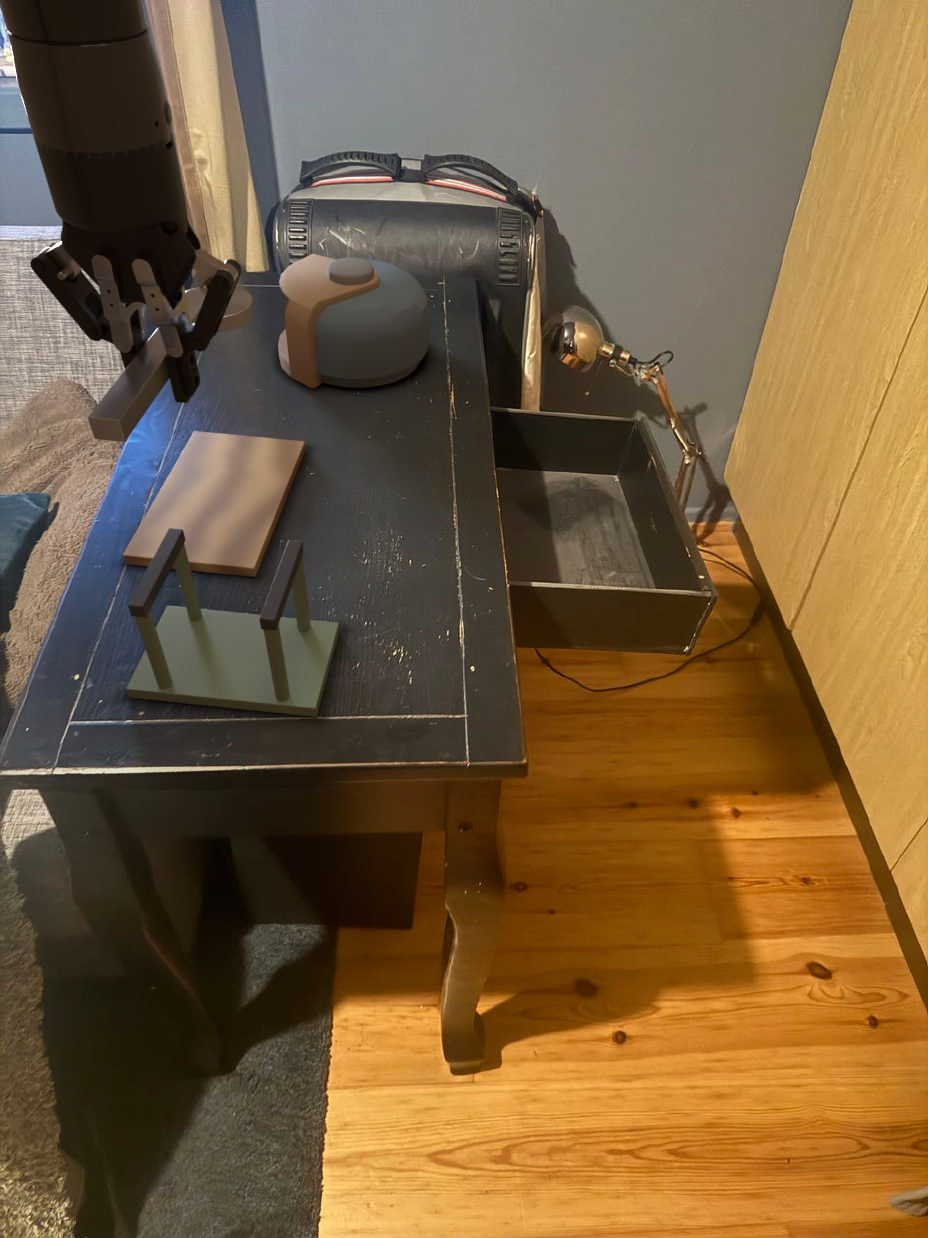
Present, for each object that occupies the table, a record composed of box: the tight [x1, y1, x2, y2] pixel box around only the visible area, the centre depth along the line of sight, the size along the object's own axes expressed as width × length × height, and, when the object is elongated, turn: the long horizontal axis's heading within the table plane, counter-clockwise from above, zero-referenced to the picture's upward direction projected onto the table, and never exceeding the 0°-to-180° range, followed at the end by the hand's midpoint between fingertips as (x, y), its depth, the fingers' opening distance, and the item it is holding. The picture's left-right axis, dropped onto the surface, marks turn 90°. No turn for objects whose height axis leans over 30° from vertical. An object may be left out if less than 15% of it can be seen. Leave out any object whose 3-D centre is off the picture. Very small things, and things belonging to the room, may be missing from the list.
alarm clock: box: [277, 253, 430, 389], centre depth 107 cm, size 19×20×12 cm
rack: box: [125, 528, 340, 718], centre depth 68 cm, size 16×10×11 cm, turn 85°
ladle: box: [87, 286, 255, 443], centre depth 59 cm, size 24×6×3 cm, turn 174°
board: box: [122, 430, 307, 578], centre depth 87 cm, size 13×22×1 cm, turn 175°
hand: (168, 394), depth 59 cm, fingers closed on ladle, 2 cm apart
